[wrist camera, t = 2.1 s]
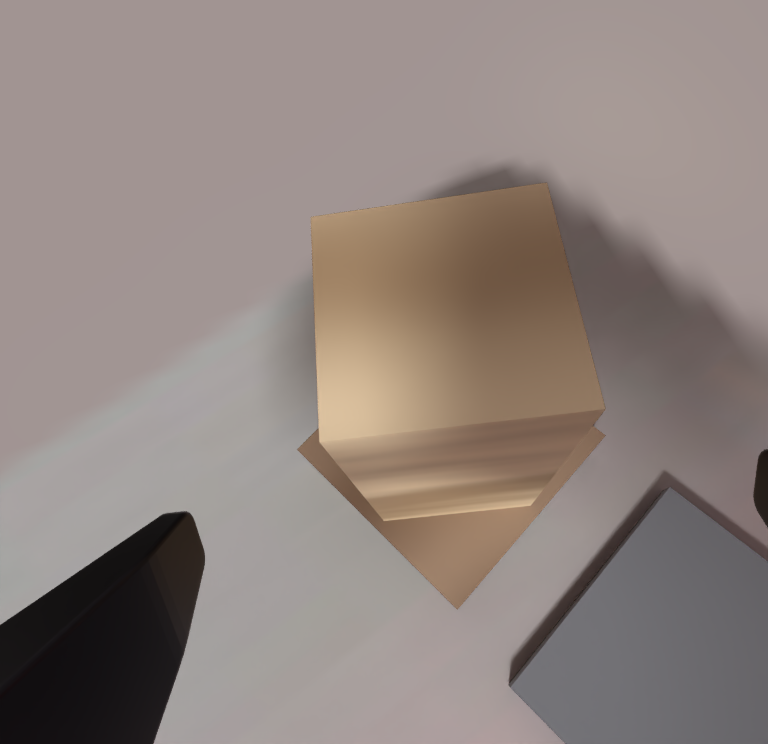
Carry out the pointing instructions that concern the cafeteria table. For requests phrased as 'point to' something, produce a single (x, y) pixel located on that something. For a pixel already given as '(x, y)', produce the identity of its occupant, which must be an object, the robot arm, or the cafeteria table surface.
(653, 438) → the cafeteria table surface
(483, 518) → the walnut ledge
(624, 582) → the charcoal pad
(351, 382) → the oak block
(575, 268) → the cafeteria table surface
